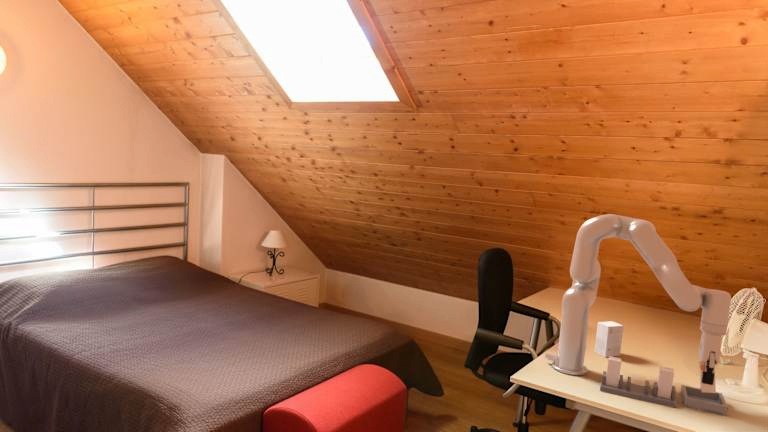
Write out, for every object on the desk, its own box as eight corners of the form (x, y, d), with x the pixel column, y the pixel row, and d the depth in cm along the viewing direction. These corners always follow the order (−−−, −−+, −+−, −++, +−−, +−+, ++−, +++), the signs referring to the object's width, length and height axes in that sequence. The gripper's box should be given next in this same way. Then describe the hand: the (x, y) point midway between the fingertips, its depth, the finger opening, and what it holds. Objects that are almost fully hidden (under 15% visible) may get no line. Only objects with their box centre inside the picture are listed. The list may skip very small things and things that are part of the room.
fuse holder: (599, 390, 185) (603, 361, 184) (601, 380, 194) (604, 352, 193) (675, 407, 176) (679, 376, 175) (673, 396, 185) (677, 367, 184)
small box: (608, 350, 228) (612, 320, 227) (620, 356, 223) (624, 325, 221) (593, 352, 225) (597, 321, 224) (605, 357, 219) (609, 326, 218)
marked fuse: (701, 392, 179) (700, 365, 178) (700, 387, 182) (698, 361, 182) (715, 393, 177) (714, 365, 177) (714, 388, 180) (712, 362, 180)
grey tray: (683, 406, 177) (684, 397, 177) (680, 393, 188) (681, 384, 188) (726, 415, 173) (727, 406, 172) (720, 401, 183) (721, 393, 183)
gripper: (697, 319, 187) (691, 370, 189) (703, 331, 172) (696, 387, 174) (722, 323, 184) (715, 375, 186) (730, 336, 169) (723, 393, 170)
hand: (706, 380), depth 180 cm, fingers closed on marked fuse, 4 cm apart
